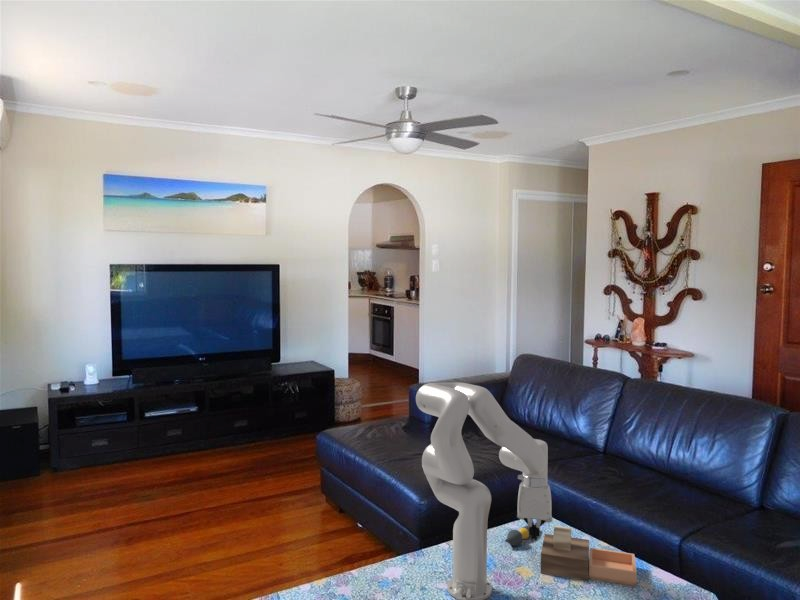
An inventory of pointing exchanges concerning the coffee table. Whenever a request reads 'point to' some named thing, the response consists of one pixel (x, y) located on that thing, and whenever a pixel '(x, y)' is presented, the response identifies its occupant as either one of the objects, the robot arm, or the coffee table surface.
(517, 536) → the paintbrush
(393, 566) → the coffee table surface
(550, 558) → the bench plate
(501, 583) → the coffee table surface
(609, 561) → the tray
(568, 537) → the beech block
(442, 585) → the coffee table surface
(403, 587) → the coffee table surface
